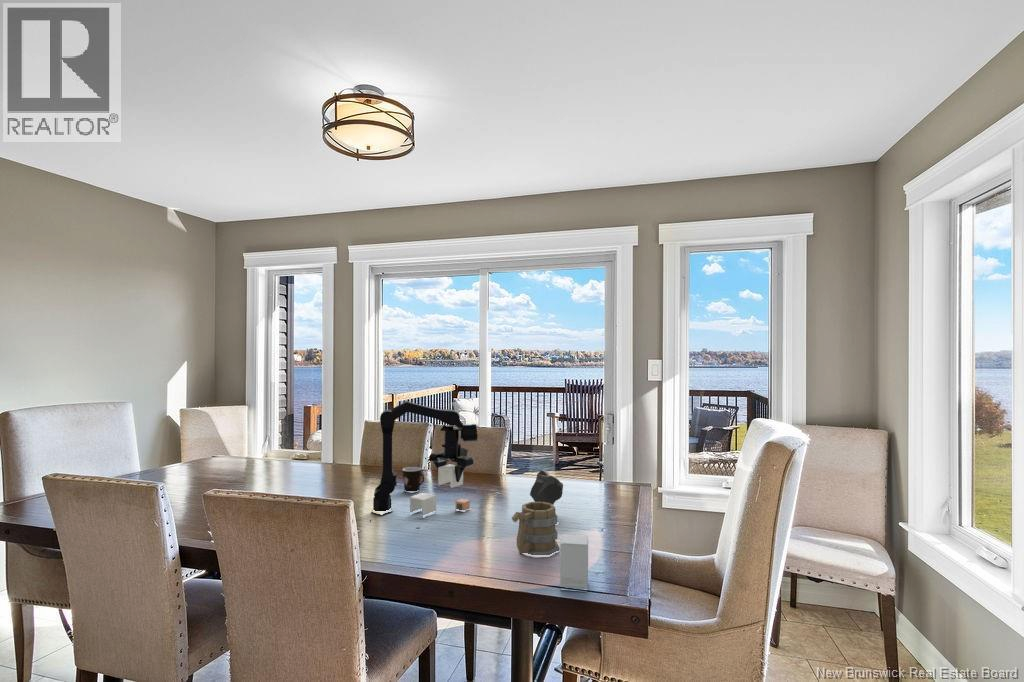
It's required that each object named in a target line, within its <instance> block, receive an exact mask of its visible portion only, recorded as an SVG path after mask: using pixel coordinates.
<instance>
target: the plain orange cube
mask: <svg viewBox="0 0 1024 682" xmlns="http://www.w3.org/2000/svg"><path fill="white" fill-rule="evenodd" d="M470 503H471V500H470V499H465V498H460V499H458V500H455V510H456V509H459V510H466V509H469V508H471V504H470Z"/></svg>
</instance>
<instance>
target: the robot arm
mask: <svg viewBox="0 0 1024 682" xmlns="http://www.w3.org/2000/svg"><path fill="white" fill-rule="evenodd" d="M406 413H410V414H413V415H415V414H416V415H420V416H424V417H428V418H432V419H435V420H438V421H440V422H441V423H444V424H442V426H440V428H439V431H441V432H444V436H443V437H444V439H443V440H444V441H443V444H441V447H442V448H443V452H442V451H441V452H440V451H437V452H433V453H430V455H429V458H428V459H429V461H430V462H432V464H434V466H435V468H436V469H437V470H438V467H441V466H445V465H447V463H448V462H451V463H453V462H454V463H456V464H457V465H456V464H455V465H456V466H455V474H456V481H457V482H459V480H460V478H461V475H462V472H463V473H464V471H465V469H466V468H467V467H468V466H472V465H474V458H473V457H472V456H468V451H469V449H467V448H463V447H462V444H461V443H459V439H460V440H462V442H477V441H478V437H479V436H478V428H477V427H478V426H477V424H475V423H472V424H463V422H462V421H461V420H460V414H459V413H458V412H457V411H456V410H455V409H445V408H443V409H442V408H435V407H430V406H427V405H423V404H418V403H414V402H411V401H409V400H408V401H407V400H406V401H404V402H402V403H401V404H399V405H397V406H395V407H393V408H391V409H384V410H383V411H381V413H380V418H379V421H380V427H381V432H382V472H381V476H380V483H379V484H378V485H377V486H376V487H375V489H374V493H373V496H374V497H373V500H372V501H373V502H372V503H373V505H372V506H373V509H372V511H373V510H375V511H386V510H389V509H390V508H391V509H392V495H391V494H392V493H393V492H394V491H395V489H396V487H397V486H398V482H397V473H398V472H397V471H394V469H393V432H394V427H395V421H396V420H397V419H399V418H401V417H402V416H403V415H405V414H406ZM446 424H447V426H446ZM454 426H455V428H454Z"/></svg>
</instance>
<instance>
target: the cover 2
mask: <svg viewBox="0 0 1024 682" xmlns="http://www.w3.org/2000/svg"><path fill="white" fill-rule="evenodd" d="M455 466H456V464H452V463H451V464H450V463H449V464H446V465H445V466H441V467H438V469H437V471H438V472H437V473H438V475H437V477H438V478H437V485H438V486H441V485H445V484H448V483H450V484H449V485H450V488H452V489H453V488H456V487H459V486H461V485H464V471H463V472H462V475H461V478H460V480H459V482H457V481H456V474H455Z"/></svg>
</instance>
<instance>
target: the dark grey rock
mask: <svg viewBox="0 0 1024 682" xmlns="http://www.w3.org/2000/svg"><path fill="white" fill-rule="evenodd" d="M563 491H564V484H563V482H561V481H560V479H558V477H555V476H553V475H551V474H549V472H548V471H547V470H546V469H540V471H539V472H538V473H536V478H535V481H534V483H533V485H532V487H531V488H530V492H529V496H530V497H531V498H532V499H533V502H546V503H550V504H553V505H554V504H555V503H556V501H558V500H560V499H561V498H562V496H563ZM554 506H555V505H554ZM557 522H559V521H558V520H557Z"/></svg>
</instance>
